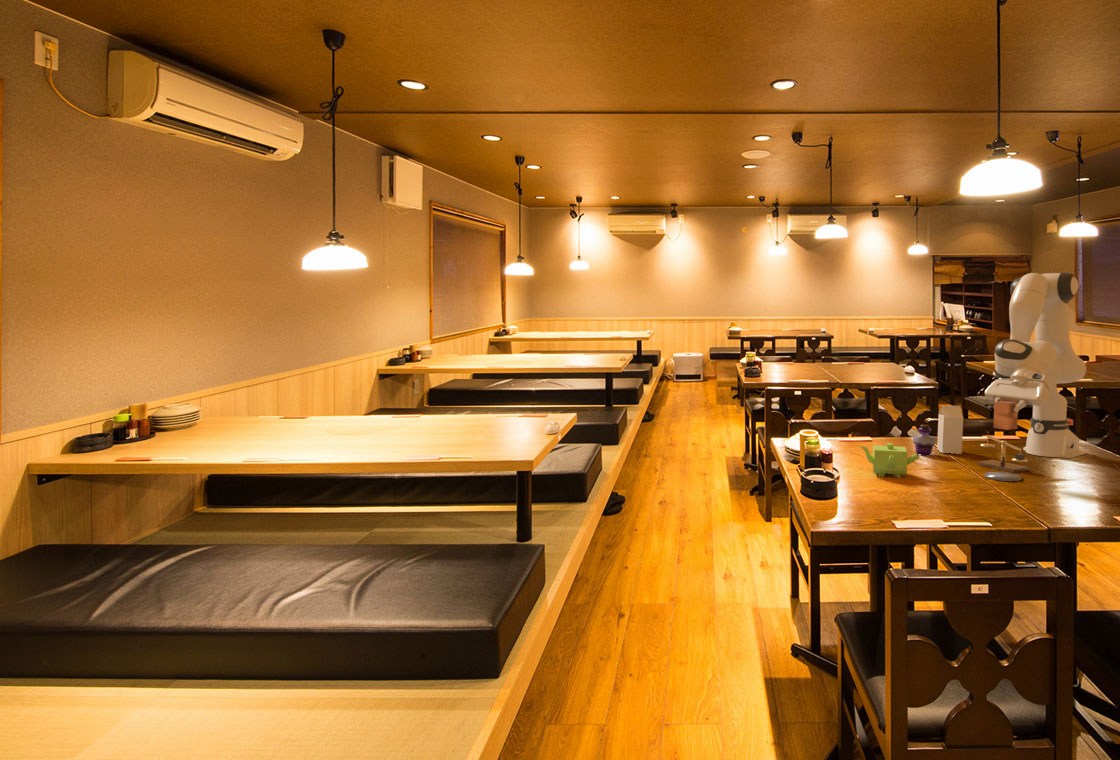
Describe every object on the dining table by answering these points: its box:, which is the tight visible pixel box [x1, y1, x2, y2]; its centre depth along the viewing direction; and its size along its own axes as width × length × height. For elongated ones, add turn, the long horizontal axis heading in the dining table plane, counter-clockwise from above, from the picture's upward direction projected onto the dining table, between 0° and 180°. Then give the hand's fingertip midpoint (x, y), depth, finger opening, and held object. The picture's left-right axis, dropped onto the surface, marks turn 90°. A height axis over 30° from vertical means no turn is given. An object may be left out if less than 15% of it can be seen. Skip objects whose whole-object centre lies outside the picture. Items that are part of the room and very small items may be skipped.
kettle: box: [858, 442, 920, 478], centre depth 261 cm, size 15×14×11 cm
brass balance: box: [977, 435, 1029, 473], centre depth 268 cm, size 8×18×11 cm, turn 23°
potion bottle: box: [912, 424, 937, 456], centre depth 292 cm, size 9×9×12 cm
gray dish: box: [984, 471, 1022, 483], centre depth 254 cm, size 11×11×1 cm
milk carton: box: [936, 405, 964, 455], centre depth 295 cm, size 7×7×19 cm
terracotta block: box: [992, 401, 1019, 431], centre depth 252 cm, size 5×5×9 cm
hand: (1004, 410), depth 251 cm, fingers closed on terracotta block, 5 cm apart
